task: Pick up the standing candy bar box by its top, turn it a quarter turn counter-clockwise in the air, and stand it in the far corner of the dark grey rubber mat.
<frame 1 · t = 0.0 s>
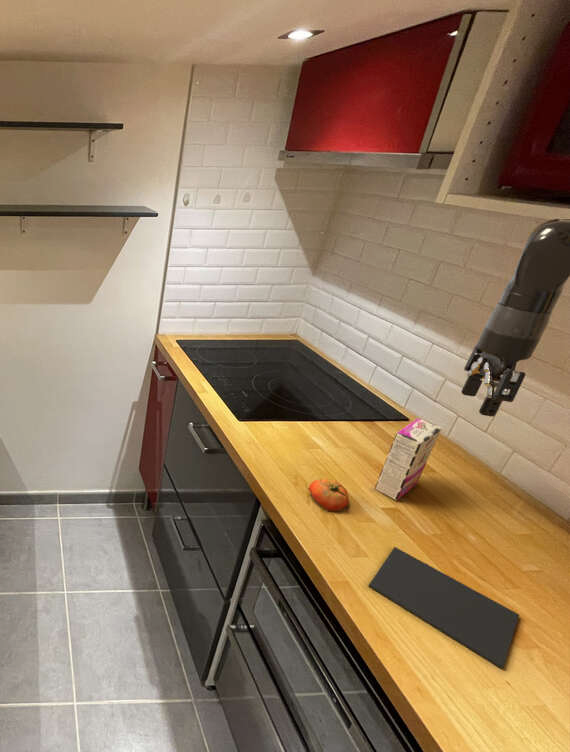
hand: (476, 404, 90), 27 cm above the worktop, tool pointing down, fingers open, 8 cm apart
tomato: (326, 500, 102), on the worktop
candy bar box: (394, 487, 106), on the worktop
mat: (440, 601, 79), on the worktop
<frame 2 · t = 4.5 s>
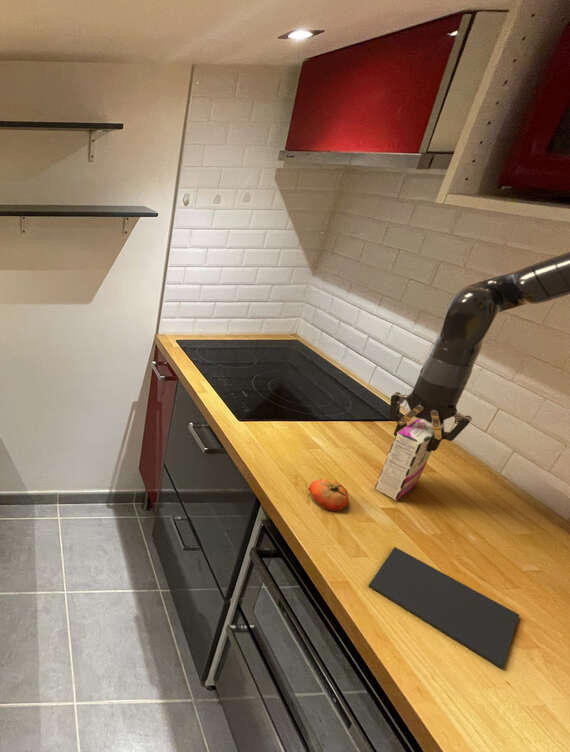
hand: (413, 443, 101), 12 cm above the worktop, tool pointing down, fingers closed on candy bar box, 5 cm apart
candy bar box: (394, 487, 106), on the worktop, touching gripper
everything else where it was.
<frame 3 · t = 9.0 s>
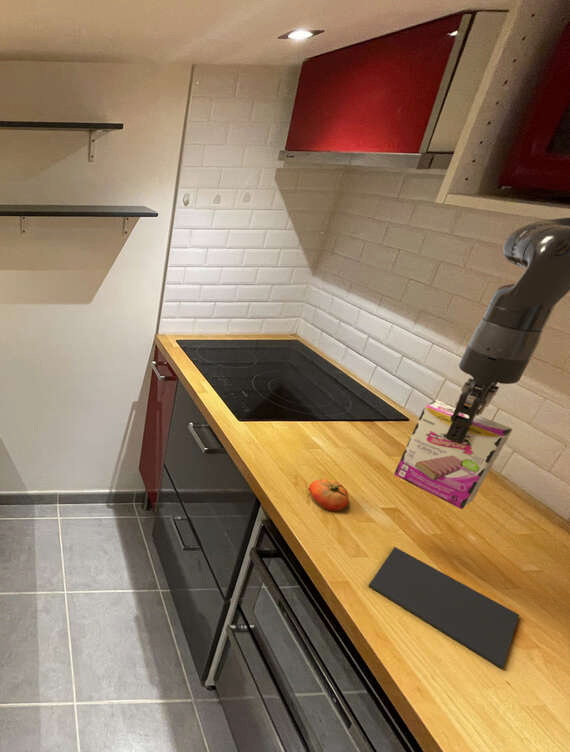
hand: (457, 434, 80), 26 cm above the worktop, tool pointing down, fingers closed on candy bar box, 5 cm apart
candy bar box: (431, 489, 85), point 14 cm above the worktop, touching gripper
everything else where it was.
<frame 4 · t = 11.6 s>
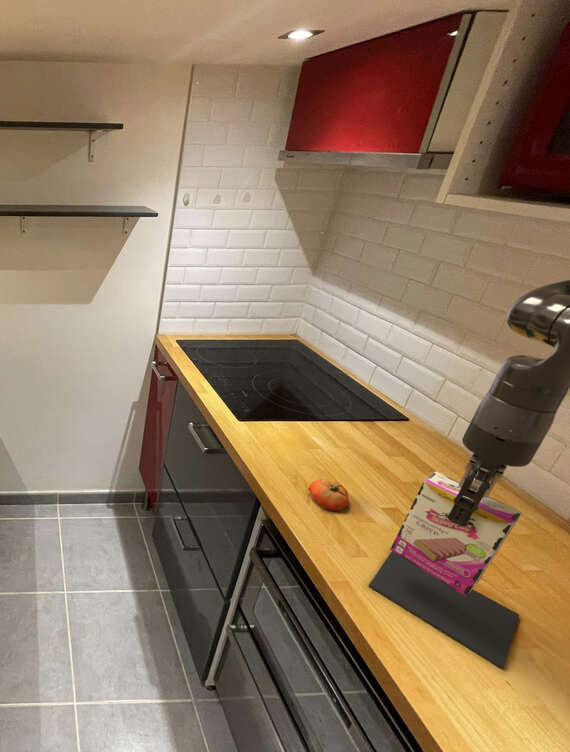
hand: (460, 513, 72), 19 cm above the worktop, tool pointing down, fingers closed on candy bar box, 5 cm apart
candy bar box: (431, 568, 77), point 7 cm above the worktop, touching gripper
everything else where it was.
when the fingers open (13 cm above the worktop, at t = 13.6 s): candy bar box stays where it is, resting on mat.
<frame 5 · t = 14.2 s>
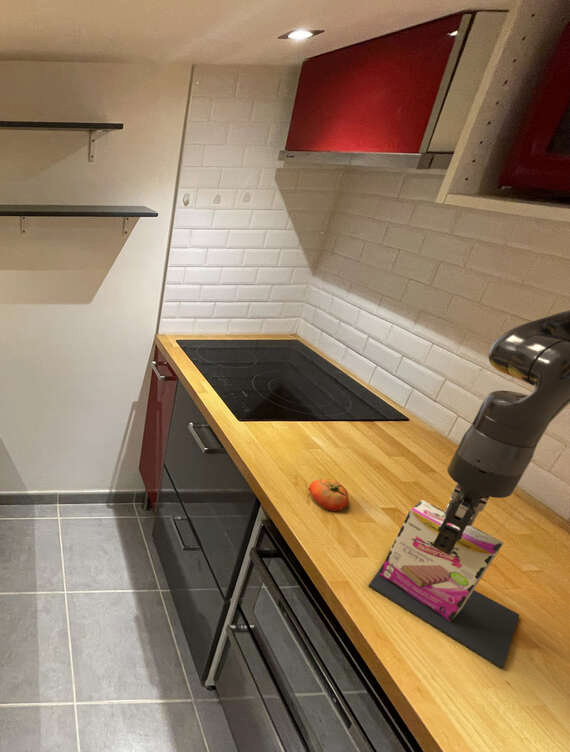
hand: (448, 536, 74), 14 cm above the worktop, tool pointing down, fingers open, 8 cm apart
candy bar box: (417, 593, 80), resting on mat
everything else where it was.
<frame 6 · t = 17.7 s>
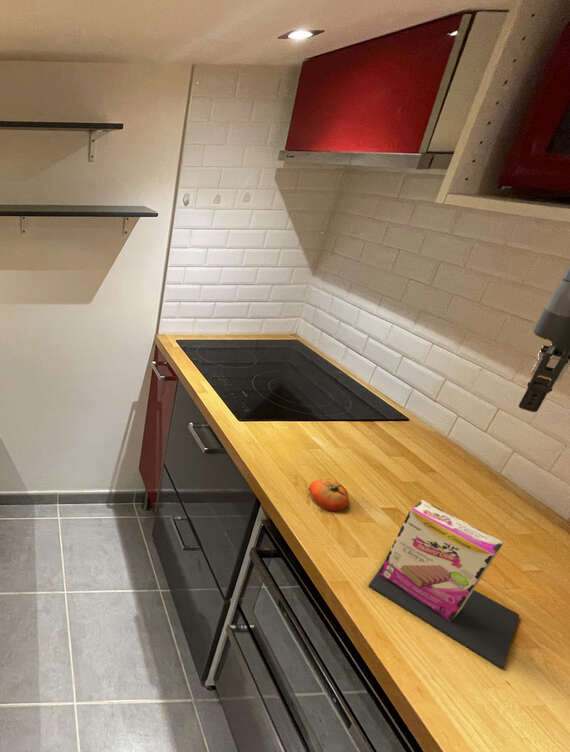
hand: (531, 401, 76), 34 cm above the worktop, tool pointing down, fingers open, 8 cm apart
nothing on the worktop moved.
at the end: candy bar box 0.2 cm from the target spot on the mat, point 0.4 cm above the mat's base; candy bar box tilted 0°; the gripper is holding nothing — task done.
